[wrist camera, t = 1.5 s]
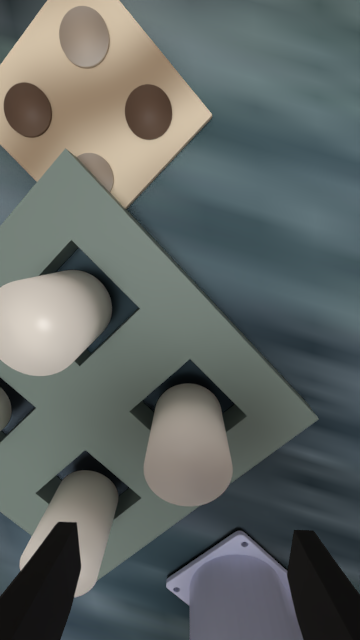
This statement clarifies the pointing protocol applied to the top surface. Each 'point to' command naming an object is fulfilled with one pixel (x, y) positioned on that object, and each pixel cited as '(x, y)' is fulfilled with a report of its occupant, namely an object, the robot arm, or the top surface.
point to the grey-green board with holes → (124, 363)
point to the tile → (95, 97)
